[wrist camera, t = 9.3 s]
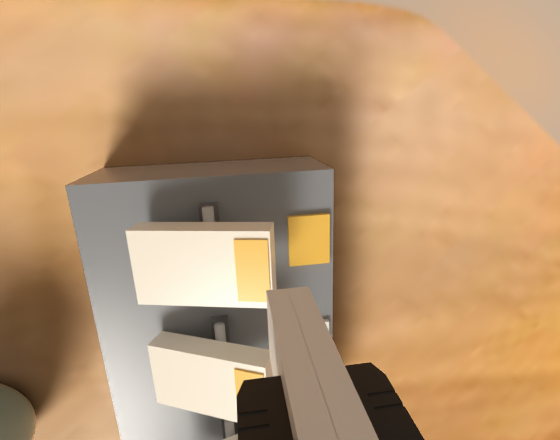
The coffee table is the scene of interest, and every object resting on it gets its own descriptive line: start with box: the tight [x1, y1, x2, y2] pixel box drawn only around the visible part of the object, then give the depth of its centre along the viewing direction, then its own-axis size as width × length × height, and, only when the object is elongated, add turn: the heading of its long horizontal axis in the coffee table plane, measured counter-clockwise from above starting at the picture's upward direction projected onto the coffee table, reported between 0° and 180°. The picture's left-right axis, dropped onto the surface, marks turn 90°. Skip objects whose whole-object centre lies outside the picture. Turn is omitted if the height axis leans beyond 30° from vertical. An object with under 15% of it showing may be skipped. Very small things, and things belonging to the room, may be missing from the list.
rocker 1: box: [125, 222, 277, 308], centre depth 18 cm, size 7×4×2 cm, turn 92°
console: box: [65, 156, 334, 440], centre depth 24 cm, size 14×22×7 cm, turn 2°
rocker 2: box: [147, 331, 273, 422], centre depth 20 cm, size 7×4×2 cm, turn 93°
